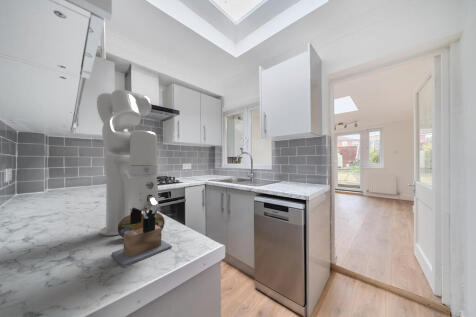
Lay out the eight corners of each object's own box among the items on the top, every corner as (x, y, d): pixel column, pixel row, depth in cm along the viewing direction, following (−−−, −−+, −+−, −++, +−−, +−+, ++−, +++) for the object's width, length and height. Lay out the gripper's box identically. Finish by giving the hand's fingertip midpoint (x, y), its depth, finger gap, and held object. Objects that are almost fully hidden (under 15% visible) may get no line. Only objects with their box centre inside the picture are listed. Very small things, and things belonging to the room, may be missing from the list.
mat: (111, 254, 49) (111, 252, 49) (156, 239, 59) (156, 237, 59) (123, 267, 43) (123, 264, 43) (171, 247, 53) (171, 245, 53)
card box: (155, 241, 56) (155, 224, 56) (161, 245, 53) (161, 227, 53) (123, 252, 49) (123, 232, 50) (128, 257, 46) (128, 236, 47)
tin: (117, 240, 59) (117, 216, 59) (120, 237, 62) (121, 213, 62) (164, 235, 63) (164, 212, 63) (165, 232, 66) (165, 210, 66)
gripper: (169, 172, 50) (168, 230, 49) (144, 169, 61) (143, 217, 60) (141, 173, 44) (140, 239, 44) (120, 170, 55) (118, 223, 55)
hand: (142, 227), depth 52 cm, fingers open, 9 cm apart
